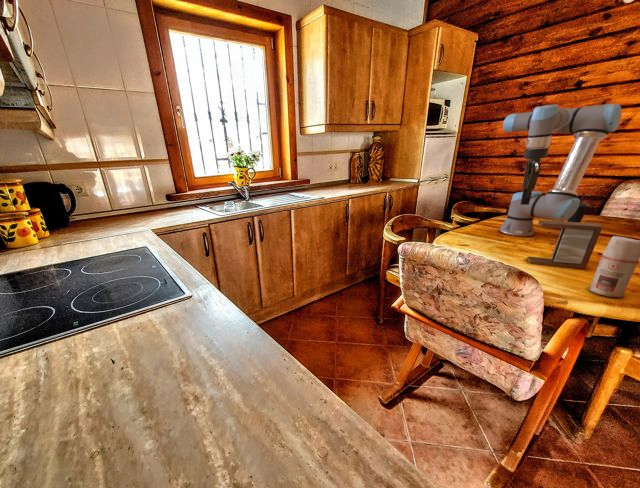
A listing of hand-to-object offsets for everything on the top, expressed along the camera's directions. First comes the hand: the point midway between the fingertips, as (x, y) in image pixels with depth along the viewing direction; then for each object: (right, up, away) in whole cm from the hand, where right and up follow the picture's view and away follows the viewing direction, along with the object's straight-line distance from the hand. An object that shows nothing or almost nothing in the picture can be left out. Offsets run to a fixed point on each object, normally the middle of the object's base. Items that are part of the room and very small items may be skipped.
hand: (524, 204), depth 124 cm
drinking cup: (+60, -6, +38) cm, 71 cm away
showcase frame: (+7, -27, -5) cm, 28 cm away
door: (+12, -25, -7) cm, 29 cm away
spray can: (+4, -37, -28) cm, 47 cm away
